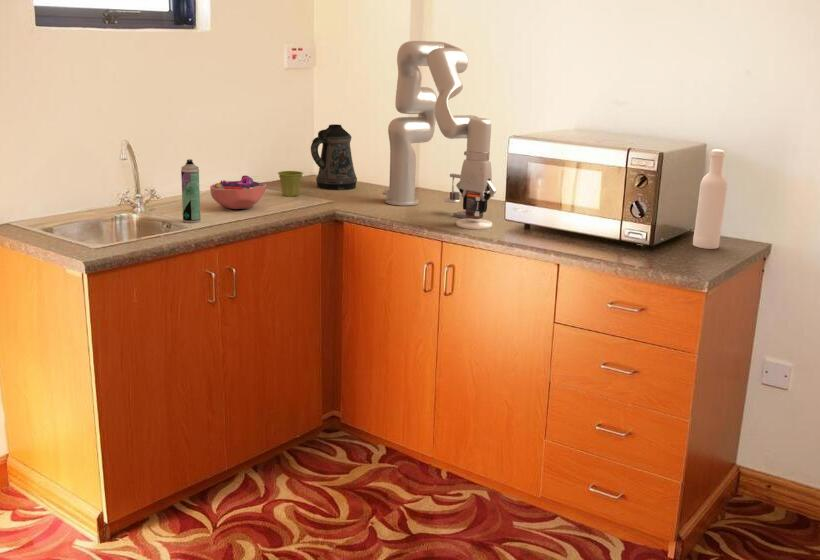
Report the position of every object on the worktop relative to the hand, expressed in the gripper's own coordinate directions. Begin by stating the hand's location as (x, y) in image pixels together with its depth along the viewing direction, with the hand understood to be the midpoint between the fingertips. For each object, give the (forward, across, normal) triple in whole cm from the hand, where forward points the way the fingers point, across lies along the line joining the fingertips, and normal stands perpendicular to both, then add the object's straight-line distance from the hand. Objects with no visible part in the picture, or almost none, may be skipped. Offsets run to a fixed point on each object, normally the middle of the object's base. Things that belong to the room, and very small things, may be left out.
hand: (474, 210), depth 287 cm
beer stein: (+6, -82, +17) cm, 83 cm away
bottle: (+5, +67, +31) cm, 74 cm away
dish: (+5, 0, 0) cm, 5 cm away
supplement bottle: (+3, 0, 0) cm, 3 cm away
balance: (+5, -10, +10) cm, 15 cm away
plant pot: (+6, -80, -9) cm, 81 cm away
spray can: (+6, -66, -65) cm, 93 cm away
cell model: (+6, -73, -40) cm, 83 cm away
